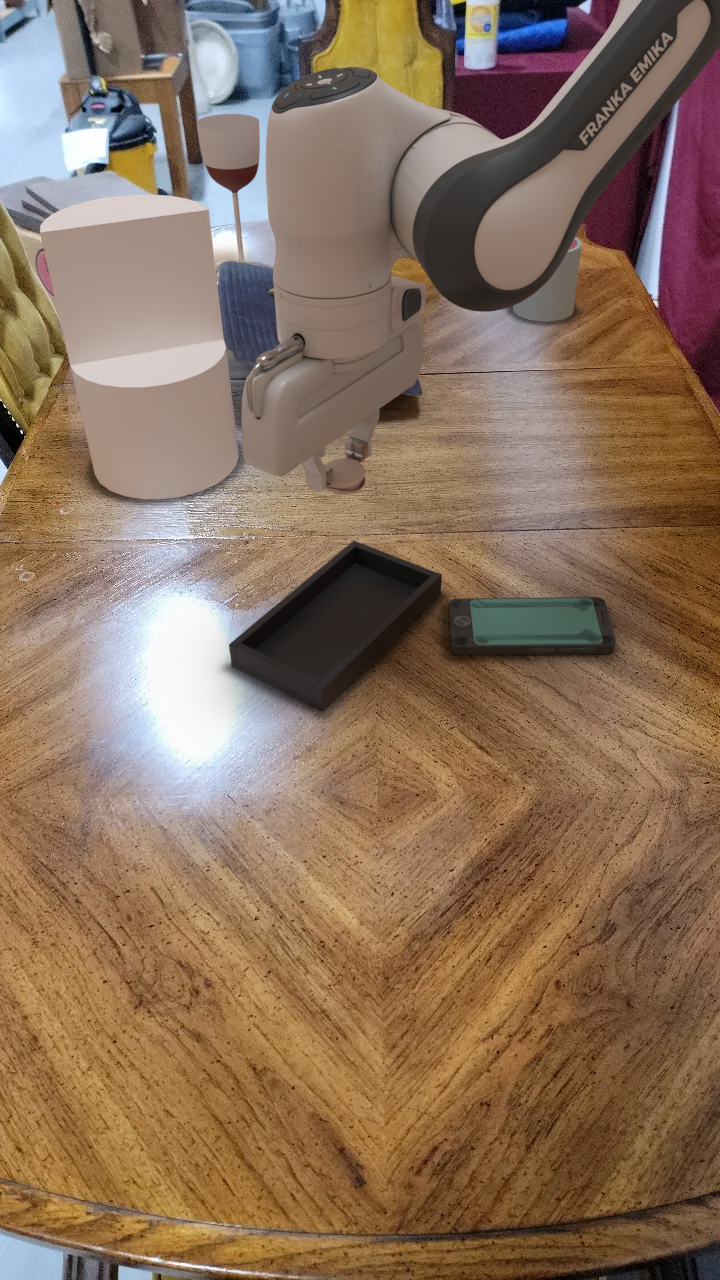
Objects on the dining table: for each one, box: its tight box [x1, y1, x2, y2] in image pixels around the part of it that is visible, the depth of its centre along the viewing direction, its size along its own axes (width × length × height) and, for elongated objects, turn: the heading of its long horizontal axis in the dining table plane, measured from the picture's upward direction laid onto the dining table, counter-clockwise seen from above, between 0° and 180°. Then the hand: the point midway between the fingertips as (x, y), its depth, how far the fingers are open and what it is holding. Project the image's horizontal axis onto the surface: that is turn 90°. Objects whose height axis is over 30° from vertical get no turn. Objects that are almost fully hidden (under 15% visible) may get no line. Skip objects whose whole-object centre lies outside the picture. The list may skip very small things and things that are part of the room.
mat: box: [217, 260, 423, 396], centre depth 141 cm, size 45×27×12 cm, turn 10°
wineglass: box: [196, 113, 262, 279], centre depth 158 cm, size 9×10×23 cm
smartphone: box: [448, 596, 617, 656], centre depth 94 cm, size 7×1×15 cm
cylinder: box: [39, 194, 240, 500], centre depth 110 cm, size 17×17×28 cm
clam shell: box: [324, 457, 366, 496], centre depth 85 cm, size 4×5×2 cm
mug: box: [512, 236, 583, 323], centre depth 149 cm, size 14×9×10 cm
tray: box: [228, 540, 443, 711], centre depth 94 cm, size 11×20×3 cm, turn 145°
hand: (339, 471), depth 85 cm, fingers closed on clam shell, 4 cm apart
